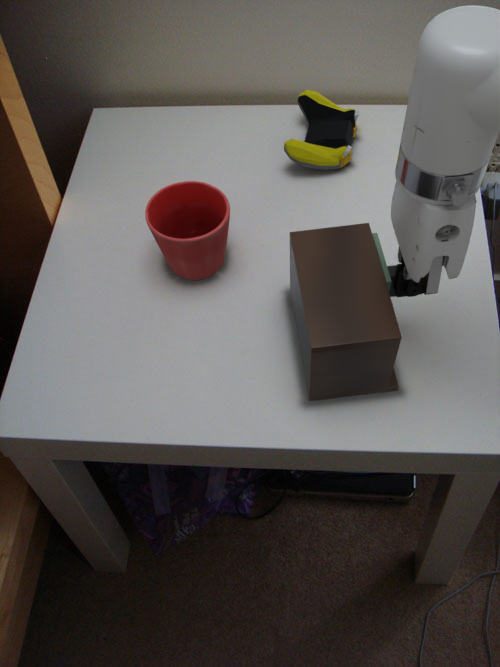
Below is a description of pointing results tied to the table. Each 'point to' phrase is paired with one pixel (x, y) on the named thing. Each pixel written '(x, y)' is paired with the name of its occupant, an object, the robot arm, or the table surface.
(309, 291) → the cupboard
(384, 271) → the sliding door
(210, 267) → the flower pot
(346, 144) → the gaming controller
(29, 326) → the table surface
